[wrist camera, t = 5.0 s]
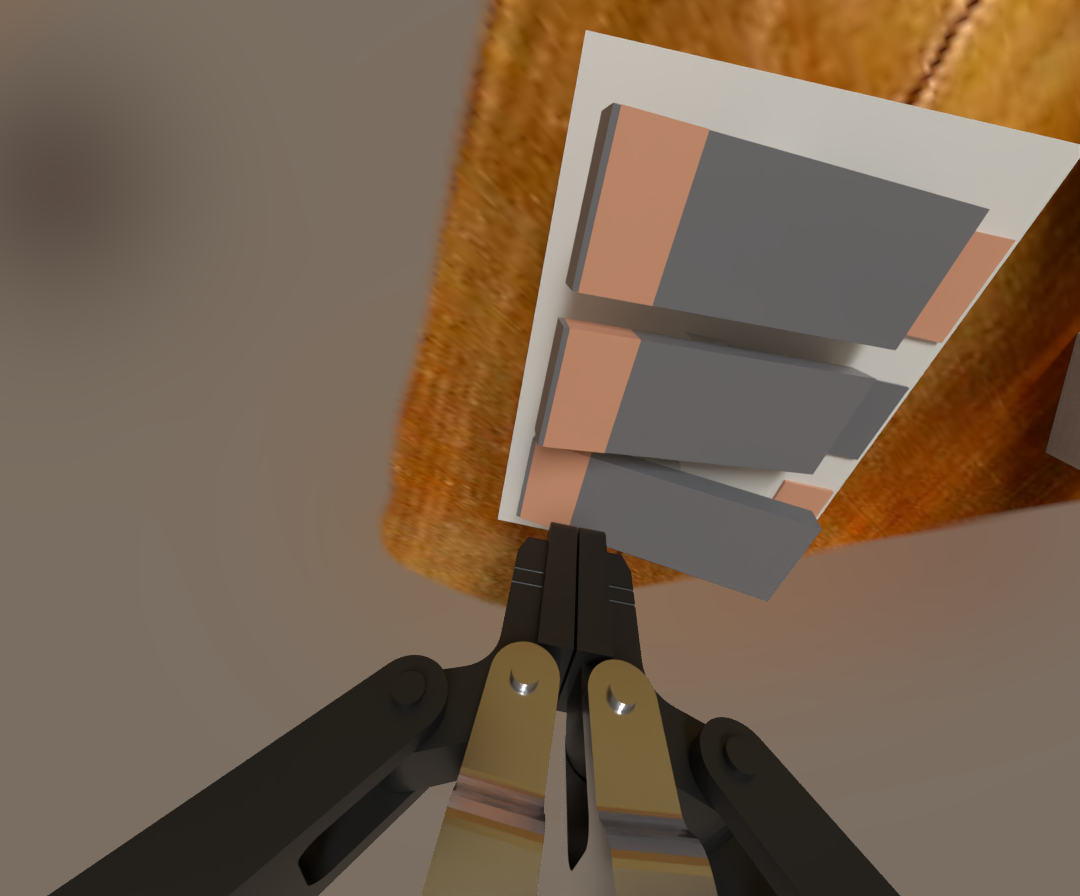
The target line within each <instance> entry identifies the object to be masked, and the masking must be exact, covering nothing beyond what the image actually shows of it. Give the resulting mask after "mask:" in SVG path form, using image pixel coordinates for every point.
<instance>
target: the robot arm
mask: <svg viewBox="0 0 1080 896" xmlns="http://www.w3.org/2000/svg"><path fill="white" fill-rule="evenodd" d="M634 604H635V601H634V593H633V585H632V576H631V571H630V569H629V567H628V566H627V564H626V562H625V561H624V559H623V557H622V555H618V554H613V553H608V552H607V545H606V534H605V532H601V531H596V530H591V529H586V528H581V527H578V529H577V527H575V526H570V525H565V524H560V523H555V522H551V523H550V527H549V531H548V535H547V539H546V540H541V539H536V538H531V537H528V539H527V540H526V541H525V542H524V543H523V545H522V546H521V547H520V548H519V549H518V554H517V558H516V563H515V568H514V573H513V578H512V583H511V588H510V593H509V598H508V603H507V608H506V612H505V617H504V622H503V628H502V632H501V636H500V640H499V642H498V644H497V646H496V647H495V649H494V650H493V651H492V652H491V653H490V654H489V655H488V656H487V657H486V658H484V659H483V660H481V661H479V662H477V663H475V664H472V665H468V666H463V667H456V668H449V669H442V668H441V666H440V665H439V664H438V663H437V662H435V661H434V660H432V659H430V658H428V657H425V656H420V655H409V656H404V657H401V658H399V659H396V660H394V661H392V662H391V663H389V664H387V665H386V666H385V667H383V668H381V669H380V670H379V671H377V672H376V673H374V674H373V675H371V676H370V677H368V678H367V679H365V680H364V681H362V682H361V683H359V684H358V685H356V686H355V687H354V688H352V689H351V690H349V691H348V692H346V693H345V694H343V695H342V696H340V697H339V698H337V699H336V700H334V701H333V702H332V703H330V704H329V705H327V706H326V707H324V708H323V709H321V710H320V711H318V712H317V713H316V714H314V715H312V716H311V717H310V718H308V719H307V720H305V721H304V722H302V723H301V724H299V725H298V726H296V727H295V728H293V729H292V730H290V731H289V732H287V733H286V734H284V735H283V736H282V737H280V738H279V739H277V740H276V741H274V742H273V743H271V744H270V745H268V746H267V747H265V748H264V749H262V750H261V751H260V752H258V753H257V754H255V755H254V756H252V757H251V758H249V759H248V760H246V761H245V762H244V763H242V764H241V765H239V766H238V767H236V768H235V769H233V770H232V771H230V772H229V773H227V774H226V775H224V776H223V777H221V778H220V779H218V780H217V781H215V782H214V783H212V784H211V785H210V786H208V787H207V788H205V789H204V790H202V791H201V792H199V793H198V794H196V795H195V796H193V797H192V798H190V799H189V800H188V801H186V802H185V803H183V804H182V805H180V806H179V807H177V808H176V809H174V810H173V811H171V812H170V813H169V814H167V815H166V816H164V817H163V818H161V819H160V820H158V821H157V822H156V823H154V824H152V825H151V826H149V827H148V828H146V829H145V830H143V831H142V832H141V833H139V834H138V835H136V836H135V837H133V838H132V839H130V840H129V841H127V842H126V843H124V844H123V845H121V846H120V847H118V848H117V849H116V850H114V851H113V852H111V853H110V854H108V855H107V856H105V857H104V858H102V859H101V860H99V861H98V862H96V863H95V864H93V865H92V866H91V867H89V868H88V869H86V870H85V871H83V872H82V873H80V874H79V875H77V876H76V877H74V878H73V879H71V880H70V881H69V882H67V883H66V884H64V885H63V886H61V887H60V888H58V889H57V890H55V891H54V892H52V893H51V894H50V895H48V896H318V895H319V894H320V893H321V892H322V891H323V890H324V889H325V888H326V887H327V886H329V884H331V883H332V882H333V881H334V880H335V878H337V877H338V876H339V875H340V874H341V873H342V872H343V871H344V870H345V869H346V868H347V867H348V866H349V865H350V864H351V863H352V862H353V861H354V860H355V859H356V858H357V857H358V856H359V855H360V854H361V853H362V852H363V851H364V850H365V849H367V848H368V847H369V846H370V845H371V844H372V843H373V842H374V841H375V840H376V839H377V838H378V837H379V836H380V835H381V834H382V833H383V832H384V831H385V830H386V829H387V828H388V827H389V826H390V825H391V824H392V823H393V822H394V821H395V820H396V819H397V818H398V817H399V816H400V815H401V814H402V813H404V812H405V811H406V809H408V808H409V807H410V806H411V805H412V804H413V803H414V802H415V801H416V800H417V799H418V798H419V797H420V796H421V795H422V794H423V793H424V792H425V791H426V790H427V789H428V788H429V787H432V786H436V785H440V784H444V783H449V782H453V781H457V782H456V785H455V787H454V789H453V791H452V794H451V797H450V800H449V803H448V806H447V809H446V812H445V816H444V819H443V822H442V825H441V829H440V832H439V835H438V839H437V842H436V845H435V849H434V852H433V855H432V859H431V862H430V866H429V869H428V872H427V876H426V879H425V883H424V886H423V889H422V893H421V896H537V892H538V884H539V875H540V867H541V860H542V851H543V843H544V832H545V814H544V798H545V790H546V783H547V775H548V768H549V760H550V753H551V745H552V738H553V730H554V723H555V715H556V710H557V711H562V712H567V720H566V735H565V737H564V739H563V742H562V746H561V808H562V809H561V810H562V811H561V812H562V877H561V885H560V890H559V896H900V895H899V894H898V893H897V892H896V891H895V889H894V888H893V887H892V886H891V885H890V884H889V883H888V882H887V880H886V879H885V878H884V877H883V876H882V875H881V874H880V873H879V872H878V870H877V869H876V868H875V867H874V866H873V865H872V864H871V863H870V861H869V860H868V859H867V858H866V857H865V856H864V855H863V854H862V852H861V851H860V850H859V849H858V848H857V847H856V846H855V845H854V843H853V842H852V841H851V840H850V839H849V838H848V837H847V836H846V835H845V833H844V832H843V831H842V830H841V829H840V828H839V827H838V826H837V824H836V823H835V822H834V821H833V820H832V819H831V818H830V817H829V815H828V814H827V813H826V812H825V811H824V810H823V809H822V808H821V806H820V805H819V804H818V803H817V802H816V801H815V800H814V799H813V797H811V795H810V794H809V793H808V792H807V791H806V790H805V789H804V787H803V786H802V785H801V784H800V783H799V782H798V781H797V780H796V779H795V777H794V776H793V775H792V774H791V773H790V772H789V771H788V770H787V768H786V767H785V766H784V765H783V764H782V763H781V762H780V761H779V759H778V758H777V757H776V756H775V755H774V754H773V753H772V752H771V750H769V748H768V747H767V746H766V745H765V744H764V743H763V742H762V740H761V739H760V738H759V737H758V736H757V735H756V734H755V733H754V732H753V731H752V730H750V729H749V728H748V727H746V726H745V725H743V724H742V723H740V722H738V721H736V720H733V719H730V718H725V717H719V718H714V719H711V720H710V721H708V722H707V723H706V724H704V723H702V722H700V721H699V720H697V719H695V718H693V717H691V716H690V715H688V714H686V713H684V712H682V711H680V710H679V709H677V708H675V707H673V706H672V705H670V704H669V703H667V702H666V701H665V700H664V699H663V698H662V697H661V696H660V695H659V694H658V693H657V692H656V691H655V690H654V688H653V686H652V684H651V683H650V681H649V679H648V678H647V677H646V675H645V672H644V669H643V665H642V659H641V650H640V643H639V634H638V626H637V617H636V609H635V607H634Z"/></svg>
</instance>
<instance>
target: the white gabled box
mask: <svg viewBox="0 0 1080 896" xmlns="http://www.w3.org/2000/svg"><path fill="white" fill-rule="evenodd" d="M1046 453H1048V454H1050V455H1051V456H1053V457H1055V458H1057V459H1059V460H1061V461H1063V462H1065V463H1067V464H1069V465H1071V466H1073V467H1074V468H1076V469H1078V470H1080V332H1079V333H1077V337H1076V340H1075V344H1074V348H1073V352H1072V355H1071V359H1070V363H1069V367H1068V370H1067V374H1066V378H1065V382H1064V385H1063V389H1062V393H1061V396H1060V400H1059V404H1058V408H1057V411H1056V415H1055V419H1054V423H1053V426H1052V430H1051V434H1050V438H1049V441H1048V445H1047V449H1046Z"/></svg>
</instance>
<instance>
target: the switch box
mask: <svg viewBox="0 0 1080 896" xmlns="http://www.w3.org/2000/svg"><path fill="white" fill-rule="evenodd" d="M612 103H617V104H620V105H621V104H623V105H626V106H630V107H633V108H637V109H640V110H644V111H647V112H651V113H655V114H658V115H662V116H665V117H669V118H672V119H676V120H679V121H683V122H686V123H690V124H693V125H697V126H700V127H704V128H707V129H710V130H712V131H715V132H719V133H722V134H726V135H729V136H733V137H737V138H740V139H744V140H747V141H751V142H754V143H758V144H761V145H765V146H768V147H772V148H775V149H779V150H782V151H786V152H789V153H793V154H796V155H800V156H804V157H807V158H811V159H814V160H818V161H821V162H825V163H828V164H832V165H835V166H839V167H842V168H846V169H849V170H853V171H856V172H860V173H863V174H867V175H871V176H874V177H878V178H881V179H885V180H888V181H892V182H895V183H899V184H902V185H906V186H909V187H913V188H916V189H920V190H923V191H927V192H931V193H934V194H938V195H941V196H945V197H948V198H952V199H955V200H959V201H962V202H966V203H969V204H973V205H976V206H980V207H983V208H987V209H990V210H989V211H988V213H987V214H986V216H985V217H984V219H983V220H982V222H981V223H980V225H979V226H978V228H977V229H976V231H975V232H974V234H973V235H972V237H971V238H970V240H969V241H968V243H967V244H966V246H965V247H964V249H963V250H962V252H961V253H960V255H959V256H958V258H957V259H956V261H955V262H954V264H953V265H952V267H951V268H950V270H949V271H948V273H947V274H946V276H945V277H944V279H943V280H942V282H941V283H940V285H939V286H938V288H937V289H936V291H935V292H934V294H933V295H932V297H931V298H930V300H929V301H928V303H927V304H926V306H925V307H924V309H923V310H922V312H921V313H920V315H919V316H918V318H917V319H916V321H915V322H914V324H913V325H912V327H911V328H910V330H909V331H908V333H907V334H906V336H905V337H904V339H903V340H902V342H901V343H900V345H899V346H898V348H897V349H896V350H891V349H885V348H880V347H874V346H869V345H863V344H858V343H852V342H847V341H842V340H836V339H831V338H825V337H820V336H814V335H809V334H804V333H798V332H793V331H787V330H782V329H776V328H771V327H766V326H760V325H755V324H749V323H744V322H738V321H733V320H728V319H722V318H717V317H711V316H706V315H700V314H695V313H690V312H684V311H679V310H673V309H668V308H662V307H657V306H649V305H644V304H638V303H633V302H627V301H622V300H616V299H611V298H605V297H600V296H595V295H589V294H584V293H578V292H575V291H572V290H571V289H570V288H569V287H568V286H567V284H566V283H565V282H566V277H567V273H568V268H569V263H570V258H571V254H572V249H573V244H574V239H575V235H576V230H577V225H578V220H579V216H580V211H581V206H582V201H583V197H584V192H585V187H586V182H587V178H588V173H589V168H590V163H591V159H592V154H593V149H594V144H595V140H596V135H597V130H598V125H599V121H600V116H601V111H602V110H603V109H605V108H606V107H608V106H609V105H611V104H612ZM1079 158H1080V144H1076V143H1071V142H1067V141H1063V140H1059V139H1054V138H1050V137H1046V136H1041V135H1037V134H1033V133H1028V132H1024V131H1020V130H1015V129H1011V128H1007V127H1002V126H998V125H994V124H989V123H985V122H981V121H976V120H972V119H968V118H963V117H959V116H955V115H951V114H946V113H942V112H938V111H933V110H929V109H925V108H920V107H916V106H912V105H907V104H903V103H899V102H894V101H890V100H886V99H881V98H877V97H873V96H868V95H864V94H860V93H855V92H851V91H847V90H843V89H838V88H834V87H830V86H825V85H821V84H817V83H812V82H808V81H804V80H799V79H795V78H791V77H786V76H782V75H778V74H773V73H769V72H765V71H760V70H756V69H752V68H747V67H743V66H739V65H735V64H730V63H726V62H722V61H717V60H713V59H709V58H704V57H700V56H696V55H691V54H687V53H683V52H678V51H674V50H670V49H665V48H661V47H657V46H652V45H648V44H644V43H640V42H635V41H631V40H627V39H622V38H618V37H614V36H609V35H605V34H601V33H596V32H592V31H588V30H586V33H585V38H584V44H583V49H582V55H581V60H580V66H579V72H578V77H577V83H576V88H575V94H574V99H573V105H572V110H571V116H570V121H569V127H568V133H567V138H566V144H565V149H564V155H563V160H562V166H561V171H560V177H559V183H558V188H557V194H556V199H555V205H554V210H553V216H552V221H551V227H550V232H549V238H548V244H547V249H546V255H545V260H544V266H543V271H542V277H541V282H540V288H539V293H538V299H537V305H536V310H535V316H534V321H533V327H532V332H531V338H530V343H529V349H528V354H527V360H526V366H525V371H524V377H523V382H522V388H521V393H520V399H519V404H518V410H517V415H516V421H515V427H514V432H513V438H512V443H511V449H510V454H509V460H508V465H507V471H506V476H505V482H504V488H503V493H502V499H501V504H500V510H499V515H498V519H499V520H503V521H508V522H513V523H517V524H522V525H527V526H531V527H536V528H541V529H546V530H549V527H546V526H543V525H540V524H537V523H535V522H532V521H529V520H526V519H523V518H520V517H518V516H516V514H517V509H518V505H519V500H520V495H521V490H522V486H523V481H524V476H525V471H526V467H527V462H528V457H529V452H530V448H531V443H532V439H533V437H534V436H535V425H536V420H537V415H538V410H539V406H540V401H541V396H542V391H543V387H544V382H545V377H546V372H547V368H548V363H549V358H550V353H551V349H552V344H553V339H554V334H555V330H556V325H557V320H558V317H560V318H569V319H574V320H580V321H586V322H592V323H598V324H604V325H610V326H616V327H622V328H627V329H631V330H637V331H643V332H648V333H654V334H660V335H666V336H672V337H678V338H684V339H690V340H696V341H701V342H707V343H713V344H719V345H725V346H731V347H737V348H743V349H748V350H754V351H760V352H766V353H772V354H778V355H784V356H790V357H796V358H801V359H807V360H813V361H819V362H825V363H831V364H837V365H843V366H849V367H853V368H855V369H857V370H859V371H861V372H863V373H865V374H867V375H869V376H871V377H873V378H876V381H875V382H874V384H873V385H872V387H871V388H870V390H869V391H868V393H867V394H866V396H865V397H864V399H863V400H862V402H861V403H860V405H859V406H858V408H857V409H856V411H855V412H854V414H853V415H852V417H851V418H850V420H849V421H848V423H847V424H846V426H845V427H844V429H843V430H842V432H841V433H840V435H839V436H838V438H837V439H836V441H835V442H834V444H833V445H832V447H831V448H830V450H829V451H828V453H827V454H826V456H825V457H824V459H823V460H822V462H821V463H820V465H819V466H818V468H817V469H816V471H815V472H814V474H813V475H812V474H802V473H793V472H783V471H774V470H764V469H755V468H745V467H736V466H726V465H717V464H707V463H698V462H688V461H679V460H669V459H660V458H650V457H641V456H634V457H637V458H641V459H644V460H647V461H650V462H654V463H657V464H660V465H663V466H667V467H670V468H673V469H676V470H680V471H683V472H686V473H690V474H693V475H696V476H699V477H703V478H706V479H709V480H712V481H716V482H719V483H722V484H725V485H729V486H732V487H735V488H739V489H742V490H745V491H748V492H752V493H755V494H758V495H761V496H765V497H768V498H771V499H774V500H778V501H781V502H784V503H788V504H791V505H794V506H797V507H801V508H804V509H807V510H810V511H812V512H813V514H814V515H815V517H816V519H818V518H819V517H820V515H821V514H822V512H823V511H824V510H825V508H826V507H827V506H828V504H829V503H830V501H831V500H832V499H833V497H834V496H835V495H836V493H837V492H838V490H839V489H840V488H841V486H842V485H843V483H844V482H845V481H846V479H847V478H848V477H849V475H850V474H851V472H852V471H853V470H854V468H855V467H856V466H857V464H858V463H859V461H860V460H861V459H862V457H863V456H864V455H865V453H866V452H867V450H868V449H869V448H870V446H871V445H872V444H873V442H874V441H875V439H876V438H877V437H878V435H879V434H880V433H881V431H882V430H883V428H884V427H885V426H886V424H887V423H888V422H889V420H890V419H891V417H892V416H893V415H894V413H895V412H896V411H897V409H898V408H899V406H900V405H901V404H902V402H903V401H904V399H905V398H906V397H907V395H908V394H909V393H910V391H911V390H912V388H913V387H914V386H915V384H916V383H917V382H918V380H919V379H920V377H921V376H922V375H923V373H924V372H925V371H926V369H927V368H928V366H929V365H930V364H931V362H932V361H933V360H934V358H935V357H936V355H937V354H938V353H939V351H940V350H941V349H942V347H943V346H944V344H945V343H946V342H947V340H948V339H949V338H950V336H951V335H952V333H953V332H954V331H955V329H956V328H957V326H958V325H959V324H960V322H961V321H962V320H963V318H964V317H965V315H966V314H967V313H968V311H969V310H970V309H971V307H972V306H973V304H974V303H975V302H976V300H977V299H978V298H979V296H980V295H981V293H982V292H983V291H984V289H985V288H986V287H987V285H988V284H989V282H990V281H991V280H992V278H993V277H994V276H995V274H996V273H997V271H998V270H999V269H1000V267H1001V266H1002V265H1003V263H1004V262H1005V260H1006V259H1007V258H1008V256H1009V255H1010V253H1011V252H1012V251H1013V249H1014V248H1015V247H1016V245H1017V244H1018V242H1019V241H1020V240H1021V238H1022V237H1023V236H1024V234H1025V233H1026V231H1027V230H1028V229H1029V227H1030V226H1031V225H1032V223H1033V222H1034V220H1035V219H1036V218H1037V216H1038V215H1039V214H1040V212H1041V211H1042V209H1043V208H1044V207H1045V205H1046V204H1047V203H1048V201H1049V200H1050V198H1051V197H1052V196H1053V194H1054V193H1055V192H1056V190H1057V189H1058V187H1059V186H1060V185H1061V183H1062V182H1063V180H1064V179H1065V178H1066V176H1067V175H1068V174H1069V172H1070V171H1071V169H1072V168H1073V167H1074V165H1075V164H1076V163H1077V161H1078V160H1079Z"/></svg>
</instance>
